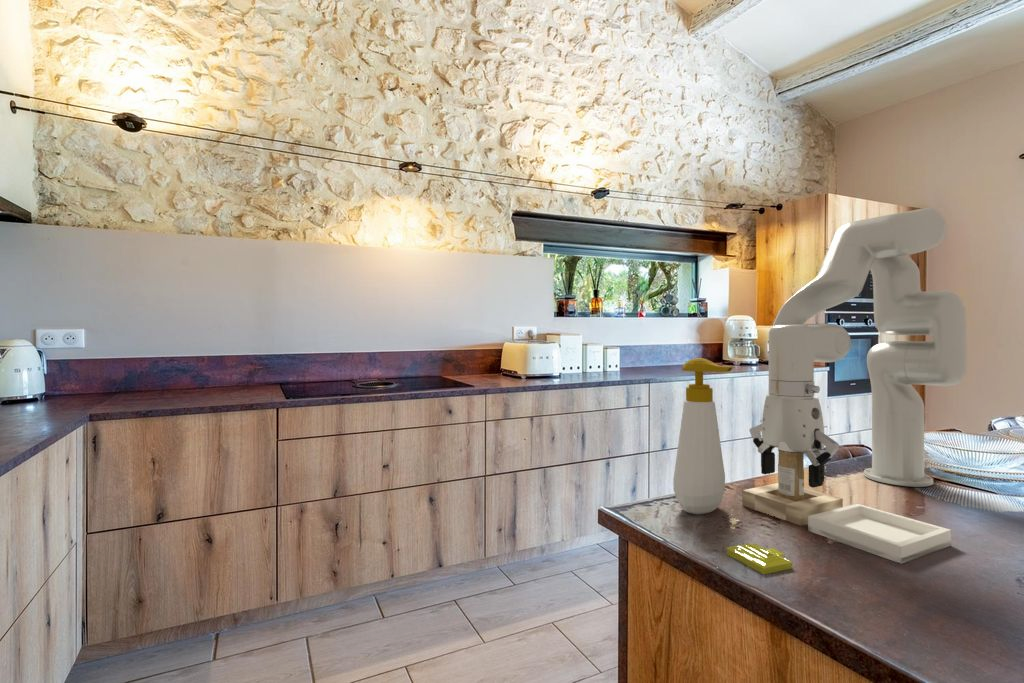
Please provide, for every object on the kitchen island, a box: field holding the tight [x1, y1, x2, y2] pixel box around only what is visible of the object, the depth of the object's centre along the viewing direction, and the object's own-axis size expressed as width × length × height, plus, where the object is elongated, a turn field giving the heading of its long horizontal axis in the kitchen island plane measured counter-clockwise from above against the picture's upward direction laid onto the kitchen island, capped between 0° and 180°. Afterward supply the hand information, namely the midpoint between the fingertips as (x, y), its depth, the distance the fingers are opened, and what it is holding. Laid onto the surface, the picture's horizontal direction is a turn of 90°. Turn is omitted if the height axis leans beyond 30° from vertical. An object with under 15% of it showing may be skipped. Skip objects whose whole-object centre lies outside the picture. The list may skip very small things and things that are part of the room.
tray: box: [807, 503, 952, 565], centre depth 83 cm, size 14×14×2 cm
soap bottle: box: [672, 357, 733, 515], centre depth 96 cm, size 13×10×29 cm
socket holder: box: [741, 482, 844, 527], centre depth 96 cm, size 12×12×3 cm
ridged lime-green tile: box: [726, 542, 803, 575], centre depth 75 cm, size 10×9×3 cm
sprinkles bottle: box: [777, 442, 805, 502], centre depth 96 cm, size 5×5×14 cm
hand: (790, 479), depth 96 cm, fingers open, 9 cm apart
